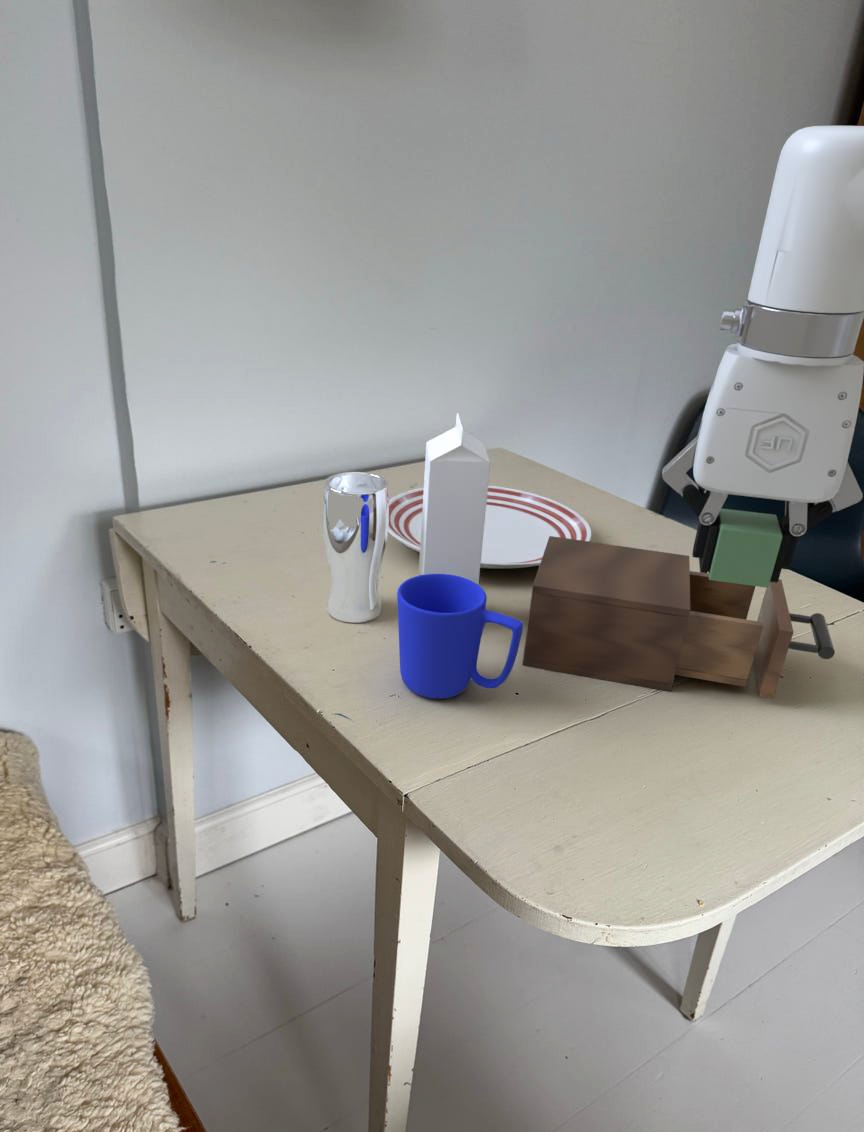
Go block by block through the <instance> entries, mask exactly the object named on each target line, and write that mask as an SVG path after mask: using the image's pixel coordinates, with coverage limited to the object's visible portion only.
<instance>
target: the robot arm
mask: <svg viewBox="0 0 864 1132" xmlns="http://www.w3.org/2000/svg"><path fill="white" fill-rule="evenodd" d="M768 200H769V202H768V205H767V210H766V213H765V214H766V215H765V218H764V223H763V227H762V231H761V237H760V241H759V246H758V249H757V255H756V259H755V263H754V267H753V271H752V272H753V273H752V277H751V281H750V285H749V290H748V296H747V298H746V299H745V301H744V305H742V304H741V305H740V308H734V309H723V310H722V312H721V316H720V321H719V326H718V327H719V330H721V331H729V333H732V334H734V335H735V337H737V339H738V340H737V343H731V344H729V345H727V347H726V349H725V351H724V353H723V355H722V358H721V360H720V363H719V365H718V367H717V370H716V372H715V376H714V378H713V381H712V384H711V386H710V390H709V392H708V396H707V399H706V403H705V406H704V410H703V414H702V417H701V421H700V425H699V428H698V433H697V435H696V436H695V437H694V438H693V439H692V440H691V441H690V442H689V443H687V445H685V447H683V449H682V450H681V451H679V452H678V453H677V454H676V455H675V456H674V457H673V458H672V459H671V460H670V461H669V462H668V463H667V464H666V465H664V467H662V470H661V477H662V480H663V481H664V482H665V483H666V484H667V485H668V486H669V487H671V488H672V489H673V490H674V491H675V492H676V494H679V495H680V496H681V497H682V499H683V500H684V501H685V502H686V504H687V505H688V506H689V508H690V509H691V510H692V512H693V513H694V514H695V516H696V517H697V518H698V519H699V520H698V525H697V529H696V534H695V536H694V537H695V538H694V543H693V546H692V554H691V555H692V558H695V559H698V564H699V572H700V573H707V574H708V573H709V572H710V568H711V564H712V560H713V556H714V552H715V547H716V543H717V539H718V535H719V530H720V527H719V512H720V510H721V509H723V506H724V505H725V502H726V501H727V498H728V497H729V495H733V496H742V497H743V496H744V497H751V498H759V499H760V498H761V499H766V500H767V499H769V500H776V501H784V516H783V517H781V519H780V520H778V522H779V526H780V529H781V532H782V535H783V537H782V541H781V544H780V548H779V552H778V555H777V559H776V562H775V566H774V570H773V573H772V577H771V580H770V582H776V583H777V582H778V580H779V579H780V577H781V573H782V570H789V569H790V567H791V564H792V560H793V557H794V554H795V550H796V546H797V543H798V539H799V537H802V536H803V535H805V534H806V533H807V530H808V529H809V528H811V527H813V526H815V525H816V524H818V523H820V522H821V521H823V520H824V519H826V518H828V517H830V516H831V515H832V514H833V513H835V512H839V511H842V510H844V509H846V508H848V507H851V506H853V505H856V504H858V503H860V502H861V501H862V500H863V497H864V494H863V491H862V490H861V487H860V485H859V483H858V481H857V478H856V476H855V474H854V472H853V470H852V468H851V465H850V464H849V462H848V460H849V455H850V452H851V446H852V443H853V438H854V433H855V429H856V428H855V427H856V424H857V418H858V414H859V408H860V402H861V398H862V397H861V396H862V389H863V383H864V382H863V380H864V361H863V360H862V359H860V357H858V356H857V355H854V353H855V349H856V346H857V343H858V338H859V335H860V332H861V328H862V325H863V322H864V125H813V126H812V125H811V126H807V127H803V128H800V129H797V130H796V131H795V132H793V133H792V134H790V136H789V137H788V138H787V139H786V141H785V143H784V144H783V146H782V149H781V151H780V154H779V157H778V161H777V166H776V168H775V174H774V178H773V183H772V187H771V192H770V196H769V199H768ZM691 468H692V472H693V474H692V475H693V478H694V480H693V479H692V478H691V477H690V476H689V475H688V474H687V473H688V472H689V470H691ZM703 489H704V490H703Z"/></svg>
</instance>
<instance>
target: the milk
mask: <svg viewBox="0 0 864 1132" xmlns="http://www.w3.org/2000/svg"><path fill="white" fill-rule="evenodd" d="M425 443H426V444H425V456H424V457H425V458H424V459H425V461H424V474H423V475H424V477H423V487H424V492H423V509H422V526H421V543H420V552H419V562H418V576H420V575H425V574H449V575H455V576H459V577H463V578H466V579H469V580H471V581H473V582H475V583H476V584H478V585H480V574H481V568H480V564H481V554H482V544H483V533H484V523H485V513H486V503H487V492H488V485H489V481H490V471H491V461H490V458H489V456H488V455H489V454H488V452H487V450H486V446H485V444H484V443H483V442H482V441H480V440H479V439H477V438H475V437H474V436H472V435H471V434H470V433H467V432H466V431H464V428H463V424H462V421H461V418H460V414H459V412H457V413H456V419H455V426H454V427H453V428H451V429H449V430H446V431H444V432H443V433H441V434H439V435H438V436H436V437H434V438H431V439H429V440H428V441H426V442H425Z"/></svg>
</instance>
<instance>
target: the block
mask: <svg viewBox="0 0 864 1132" xmlns="http://www.w3.org/2000/svg"><path fill="white" fill-rule="evenodd" d="M719 527H720V530H719V535H718V539H717V543H716V547H715V552H714V556H713V560H712V564H711V568H710V572H708V574H709V580H714V581H721V582H729V583H736V584H743V585H751V586H755V587H759V588H765V589H766V588H768V587H769V584H770V580H771V577H772V573H773V570H774V566H775V562H776V559H777V555H778V552H779V548H780V544H781V541H782V537H783V535H782V532H781V529H780V526H779V520H778V516H777V515H776V514H773V513H763V512H755V511H748V510H747V511H745V510H738V509H729V508H721V510H720V512H719Z"/></svg>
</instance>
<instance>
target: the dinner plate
mask: <svg viewBox="0 0 864 1132" xmlns="http://www.w3.org/2000/svg"><path fill="white" fill-rule="evenodd" d="M423 492H424V486H423V487H418V488H414V489H410V490H407V491H404V492H402V493H399V494H397V495H395V496H393V497H392V498H390V499H389V526H388V534H389V535H390V536H391V537H392V538H394V539H395V540H396V541H398V542H400V543H401V545H404V546H405V547H407V548H409V549H411V550H414V551H416V552H417V553H420V543H421V526H422V509H423ZM592 534H593V533H592V528H591V526H590V524H589V522H588V521H587V520H586V519H585V518H584V517H583V516H582V515H581V514H580V513H579V512H577V511H575V510H574V509H572V508H571V507H569V506H567V505H565V504H563V503H561V502H558V501H557V500H554V499H551V498H548V497H546V496H543V495H540V494H536V493H532V492H528V491H524V490H522V489H521V490H520V489H515V488H510V487H504V486H497V485H489V484H488V492H487V503H486V513H485V523H484V533H483V544H482V554H481V564H480V569H492V570H493V569H494V570H496V569H497V570H500V569H523V568H531V567H537V566H538V567H539V566H540V563H541V560H542V557H543V554H544V551H545V548H546V545H547V542H548V539H549V536H554V537H561V538H568V539H575V540H582V541H589V542H591V540H592V538H593V537H592V536H593V535H592Z"/></svg>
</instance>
